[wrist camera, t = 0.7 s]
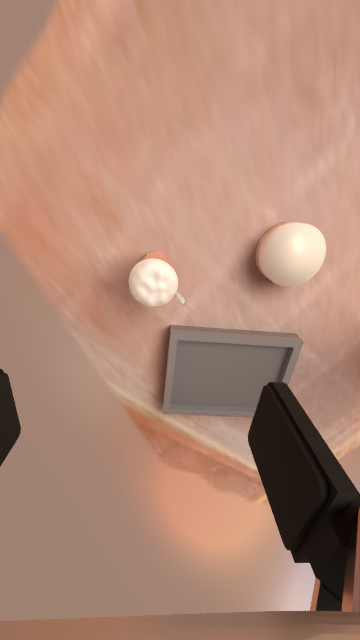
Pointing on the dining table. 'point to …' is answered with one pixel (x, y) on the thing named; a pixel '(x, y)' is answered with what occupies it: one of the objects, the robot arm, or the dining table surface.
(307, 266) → the cream domed disc
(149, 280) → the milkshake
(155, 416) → the dining table surface
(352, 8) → the dining table surface
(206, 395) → the grey tray
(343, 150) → the dining table surface
